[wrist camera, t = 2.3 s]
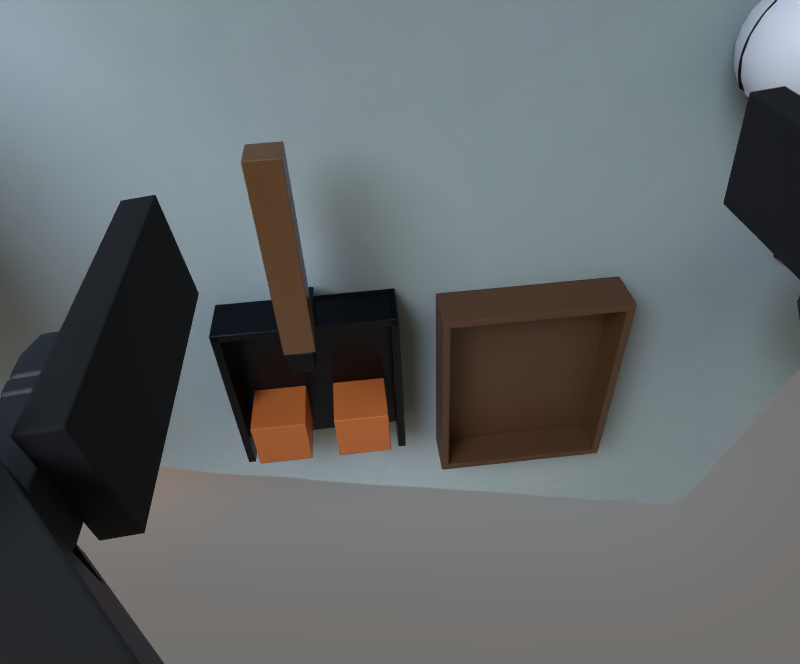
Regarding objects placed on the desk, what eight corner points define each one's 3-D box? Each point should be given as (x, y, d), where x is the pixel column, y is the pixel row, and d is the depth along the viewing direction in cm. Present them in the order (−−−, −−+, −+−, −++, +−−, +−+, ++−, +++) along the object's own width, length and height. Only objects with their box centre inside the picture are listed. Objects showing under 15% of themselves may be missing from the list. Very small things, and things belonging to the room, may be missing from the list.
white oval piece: (757, -62, 34) (844, -33, 28) (864, -24, 35) (966, 10, 30) (661, 116, 40) (717, 168, 34) (757, 141, 42) (825, 194, 36)
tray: (435, 293, 47) (442, 323, 45) (619, 276, 48) (636, 304, 45) (436, 439, 58) (441, 469, 56) (584, 423, 59) (597, 453, 57)
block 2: (332, 382, 51) (333, 421, 48) (384, 377, 51) (388, 415, 48) (338, 416, 54) (339, 455, 51) (386, 411, 54) (391, 449, 51)
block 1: (254, 390, 51) (250, 429, 48) (306, 385, 51) (305, 424, 48) (263, 424, 54) (260, 463, 50) (312, 419, 54) (312, 458, 51)
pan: (156, 108, 36) (124, 171, 30) (382, 90, 37) (395, 148, 31) (252, 429, 55) (244, 507, 49) (401, 413, 56) (411, 489, 50)
